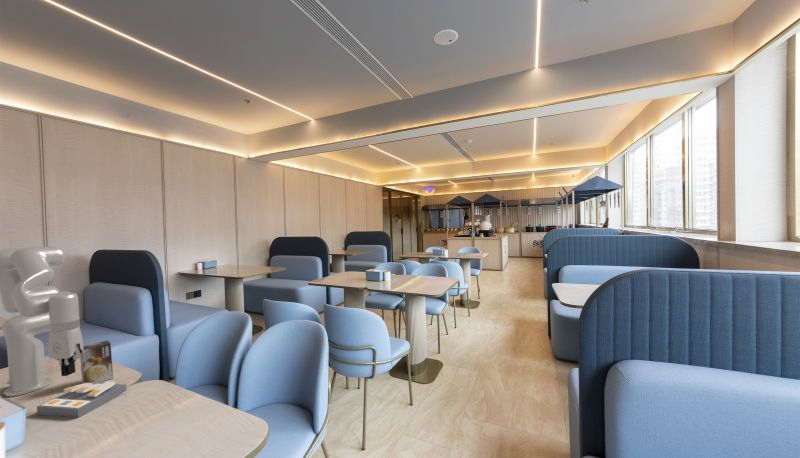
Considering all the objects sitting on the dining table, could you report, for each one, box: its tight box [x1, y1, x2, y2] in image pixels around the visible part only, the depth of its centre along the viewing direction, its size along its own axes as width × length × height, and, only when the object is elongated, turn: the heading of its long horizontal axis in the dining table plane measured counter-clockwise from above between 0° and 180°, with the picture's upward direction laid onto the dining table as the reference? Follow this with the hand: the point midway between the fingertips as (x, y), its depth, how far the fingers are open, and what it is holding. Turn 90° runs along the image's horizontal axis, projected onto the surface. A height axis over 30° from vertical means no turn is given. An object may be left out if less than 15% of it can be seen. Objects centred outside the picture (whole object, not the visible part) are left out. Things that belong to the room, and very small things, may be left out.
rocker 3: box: [87, 380, 116, 397], centre depth 115 cm, size 4×7×1 cm, turn 172°
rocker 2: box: [76, 384, 103, 393], centre depth 116 cm, size 4×7×1 cm, turn 172°
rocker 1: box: [63, 383, 93, 393], centre depth 116 cm, size 4×7×1 cm, turn 172°
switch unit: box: [36, 382, 128, 419], centre depth 113 cm, size 18×16×4 cm
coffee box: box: [79, 340, 114, 384], centre depth 130 cm, size 9×6×16 cm
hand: (68, 374), depth 113 cm, fingers closed
